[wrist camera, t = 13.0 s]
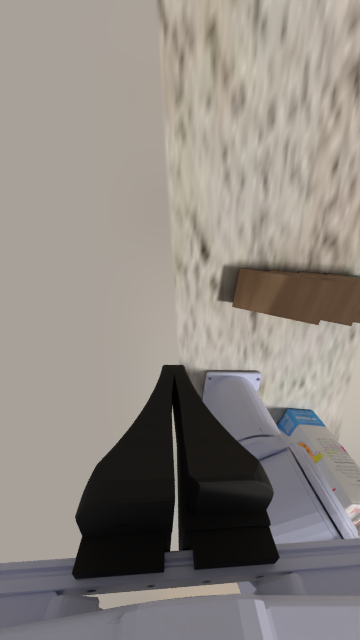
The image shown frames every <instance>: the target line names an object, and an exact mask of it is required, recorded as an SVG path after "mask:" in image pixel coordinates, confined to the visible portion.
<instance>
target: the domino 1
mask: <svg viewBox="0 0 360 640" xmlns="http://www.w3.org/2000/svg"><path fill="white" fill-rule="evenodd" d="M336 283H337V282H335V281H333V280H331V279H323V278H316V277H308V276H300V275H292V274H284V273H276V272H268V271H260V270H252V269H244V268H242V269H240V271H239V276H238V281H237V286H236V291H235V296H234V301H233V306H232V307H236V308H240V309H245V310H250V311H254V312H259V313H264V314H269V315H273V316H278V317H283V318H287V319H292V320H297V321H302V322H306V323H311V324H316V325H318V324H319V322H320V320H321V317H322V315H323V313H324V310H325V308H326V306H327V304H328V301H329V299H330V297H331V294H332V292H333V290H334V287H335V285H336Z"/></svg>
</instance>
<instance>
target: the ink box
mask: <svg viewBox="0 0 360 640" xmlns="http://www.w3.org/2000/svg"><path fill="white" fill-rule="evenodd" d="M277 427H278V429H279V431H280V433H281V434H282V436H283V438H284V439H285V441H286V442H287V444H288V445H289V446H290V444H292V443H296V444H297V445H300V446H302V447H304V448H305V449H306V451H307V452H308V454H309V455H310V457H311V458H312V460H313V461H314V463H315V465H316V466H317V468H318V469H319V471H320V472H321V474H322V475H323V477H324V478H325V480H326V482H327V483H328V485H329V486H330V488H331V489H332V491H333V493H334V494H335V496H336V497H337V499H338V500H339V502H340V503H341V505H342V507H343V508H344V510H345V511H346V513H347V514H348V516H349V518H350V519H351V521H352V522H353V524H354V526H355V527H356V529H357V531H358V536H359V537H360V468H359V466H358V465H357V464H356V463H355V461H354V460H353V459H352V458H351V457H350V455H349V454H348V453H347V452H346V450H345V449H344V448H343V447H342V446H341V444H340V443H339V442H338V441H337V439H336V438H335V437H334V436H333V435H332V433H331V432H330V431H329V430H328V429H327V427H326V426H325V425H324V424H323V422H322V421H321V420H320V419H319V418H318V416H317V415H316V414H315V413H314V412H313V411H311V410H297V409H287V410H286V412H285V414H284V415H283V417H282V418H281V420H280V421H279V423H278V425H277ZM290 448H291V447H290Z"/></svg>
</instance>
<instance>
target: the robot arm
mask: <svg viewBox="0 0 360 640" xmlns="http://www.w3.org/2000/svg"><path fill="white" fill-rule="evenodd" d="M261 378H262V374H261V373H260V372H207V373H206V378H205V385H204V392H203V399H201V398H200V396H199V395H198V393H197V391H196V390H195V388H194V386H193V384H192V383H191V381H190V379H189V377H188V375H187V372H186V370H185V367H184V366H183V365H164V366H163V367H162V371H161V374H160V377H159V380H158V382H157V385H156V387H155V389H154V391H153V393H152V394H151V396H150V398H149V400H148V402H147V404H146V405H145V407H144V408H143V410H142V411H141V413H140V415H139V416H138V417H137V419H136V420H135V421H134V423H133V424H132V426H131V427H130V428H129V429H128V431H127V432H126V433H125V434H124V435H123V437H122V438H121V439H120V440H119V441H118V443H117V444H116V445H115V446H114V447H113V448H112V449H111V450H110V451H109V452H108V454H107V455H106V456H105V457H104V458H103V459H102V460H101V461H100V462H99V463H98V464H97V465H96V467H95V469H94V471H93V473H92V475H91V477H90V479H89V481H88V483H87V485H86V488H85V490H84V492H83V495H82V498H81V501H80V504H79V507H78V510H77V513H76V516H75V518H76V522H77V525H78V527H79V529H80V532H81V534H82V540H81V543H80V546H79V550H78V553H77V557H76V558H68V559H54V560H40V561H26V562H11V563H0V640H360V537H359V536H358V531H357V529H356V527H355V526H354V524H353V522H352V521H351V519H350V518H349V516H348V514H347V513H346V511H345V510H344V508H343V507H342V505H341V503H340V502H339V500H338V499H337V497H336V496H335V494H334V493H333V491H332V489H331V488H330V486H329V485H328V483H327V482H326V480H325V478H324V477H323V475H322V474H321V472H320V471H319V469H318V468H317V466H316V465H315V463H314V461H313V460H312V458H311V457H310V455H309V454H308V452H307V451H306V449H305V448H304V447H302V446H300V445H297V444H296V443H292V444H290V446H289V445H288V444H287V442H286V441H285V439H284V438H283V436H282V434H281V433H280V431H279V429H278V427H277V426H276V424H275V422H274V420H273V419H272V417H271V415H270V413H269V412H268V410H267V408H266V406H265V404H264V403H263V401H262V399H261V397H260V396H259V394H258V392H257V391H258V388H259V385H260V382H261ZM172 404H173V413H174V422H175V432H176V442H177V473H178V529H179V551H170V545H171V533H172V528H173V516H174V505H175V482H174V481H175V478H174V459H173V437H172ZM290 447H291V448H290ZM235 582H237V584H238V586H239V589H240V592H241V594H228V595H212V596H196V597H185V598H175V599H167V600H159V601H151V602H146V603H139V604H132V605H127V606H121V607H116V608H111V609H105V610H103V609H101V608H99V600H98V598H97V597H87V596H83V595H94V594H106V593H118V592H130V591H141V590H153V589H165V588H177V587H188V586H199V585H212V584H224V583H235Z"/></svg>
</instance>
